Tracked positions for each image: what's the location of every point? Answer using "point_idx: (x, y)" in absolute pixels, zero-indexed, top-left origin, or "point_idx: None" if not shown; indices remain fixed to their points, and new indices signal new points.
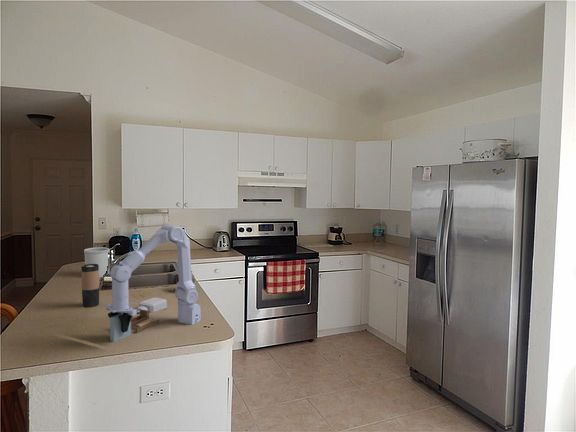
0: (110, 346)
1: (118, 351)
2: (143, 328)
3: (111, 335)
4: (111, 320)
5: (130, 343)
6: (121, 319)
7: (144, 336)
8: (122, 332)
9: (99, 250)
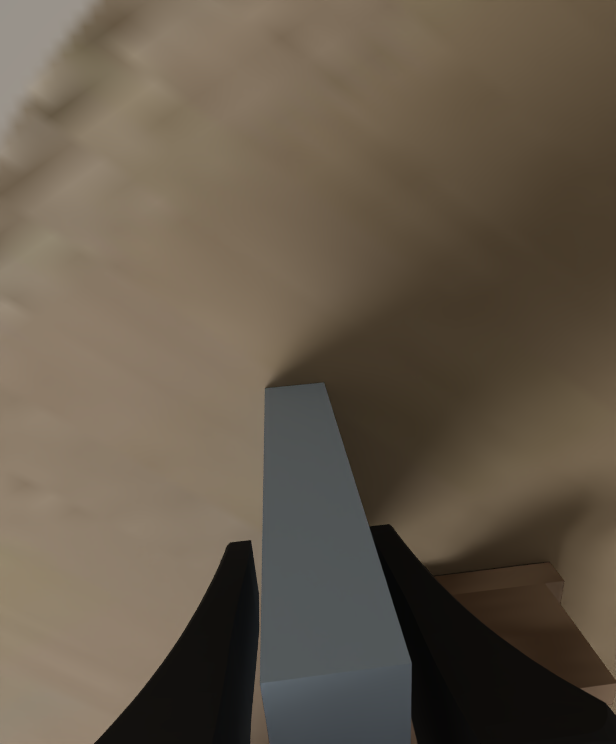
0: (250, 336)
1: (45, 303)
2: None
3: (311, 428)
4: (337, 610)
5: (144, 488)
6: (143, 740)
7: None
8: (244, 541)
9: None
